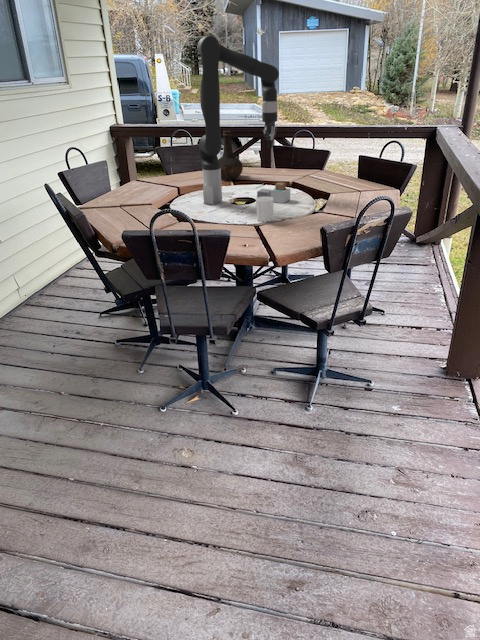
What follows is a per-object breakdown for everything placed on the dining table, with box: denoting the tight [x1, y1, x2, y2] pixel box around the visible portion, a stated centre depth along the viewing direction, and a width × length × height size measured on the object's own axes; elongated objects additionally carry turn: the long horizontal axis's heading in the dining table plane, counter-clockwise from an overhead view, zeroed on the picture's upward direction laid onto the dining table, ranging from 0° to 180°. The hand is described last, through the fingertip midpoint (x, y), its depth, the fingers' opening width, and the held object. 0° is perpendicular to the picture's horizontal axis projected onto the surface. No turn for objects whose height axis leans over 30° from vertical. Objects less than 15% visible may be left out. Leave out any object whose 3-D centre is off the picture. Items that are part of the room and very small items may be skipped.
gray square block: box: [256, 188, 272, 198], centre depth 256 cm, size 6×6×4 cm
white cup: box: [255, 196, 274, 222], centre depth 222 cm, size 8×8×10 cm
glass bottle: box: [218, 130, 244, 181], centre depth 297 cm, size 18×18×28 cm
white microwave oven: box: [270, 187, 291, 204], centre depth 251 cm, size 8×8×6 cm
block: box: [274, 181, 287, 191], centre depth 251 cm, size 4×4×9 cm
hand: (270, 147), depth 250 cm, fingers closed
